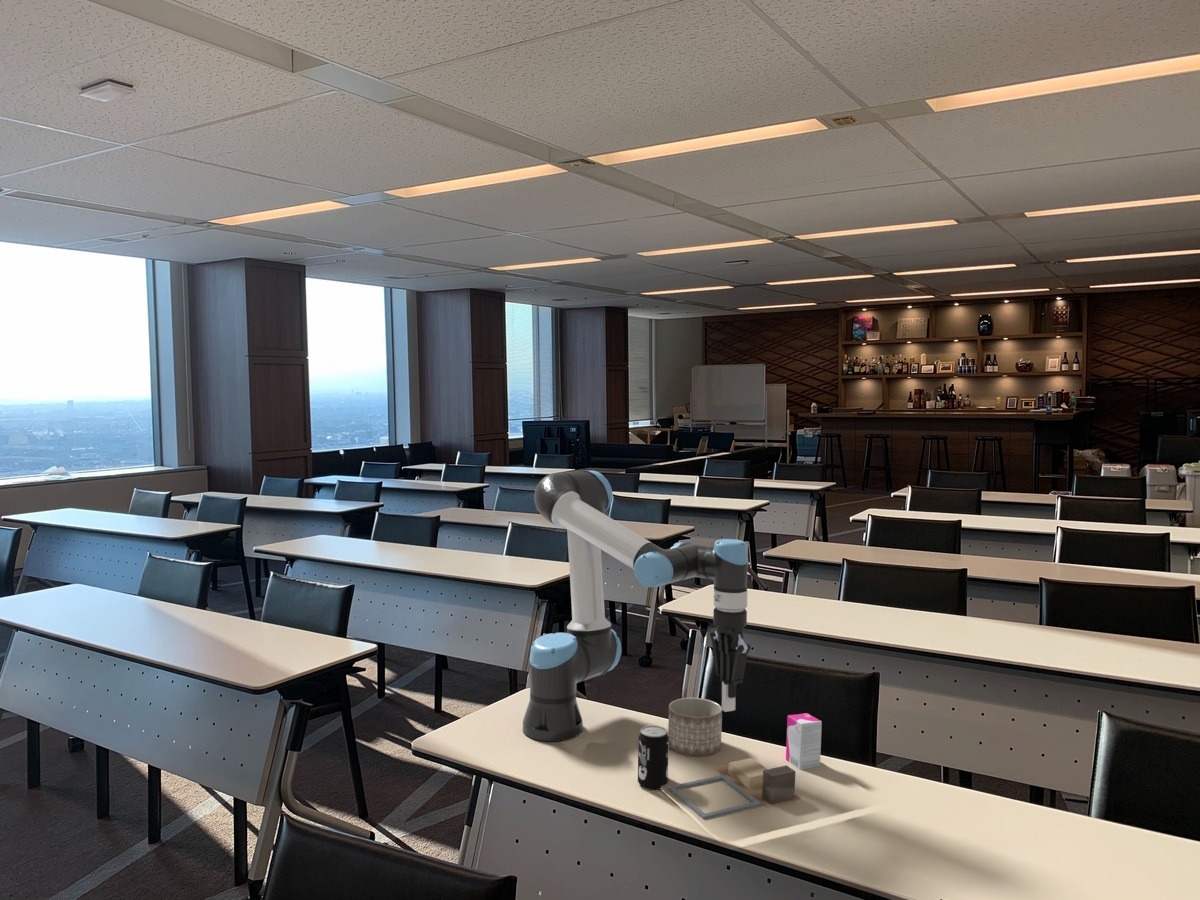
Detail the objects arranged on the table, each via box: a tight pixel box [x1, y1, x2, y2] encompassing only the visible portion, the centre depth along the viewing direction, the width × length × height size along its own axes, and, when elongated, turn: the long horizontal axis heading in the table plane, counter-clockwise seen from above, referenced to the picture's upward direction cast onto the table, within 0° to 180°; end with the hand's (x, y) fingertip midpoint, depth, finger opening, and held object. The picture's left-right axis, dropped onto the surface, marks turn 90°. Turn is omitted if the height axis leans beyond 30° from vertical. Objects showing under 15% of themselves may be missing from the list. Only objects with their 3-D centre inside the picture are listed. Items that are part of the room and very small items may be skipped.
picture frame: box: [667, 774, 762, 820], centre depth 175 cm, size 14×14×2 cm
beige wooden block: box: [728, 757, 768, 789], centre depth 184 cm, size 8×6×2 cm
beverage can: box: [637, 725, 670, 791], centre depth 182 cm, size 7×7×12 cm
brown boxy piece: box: [712, 763, 802, 808], centre depth 182 cm, size 20×9×7 cm, turn 25°
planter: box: [667, 697, 723, 757], centre depth 201 cm, size 13×13×10 cm
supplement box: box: [785, 712, 823, 770], centre depth 192 cm, size 6×6×12 cm
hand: (728, 709), depth 191 cm, fingers closed
